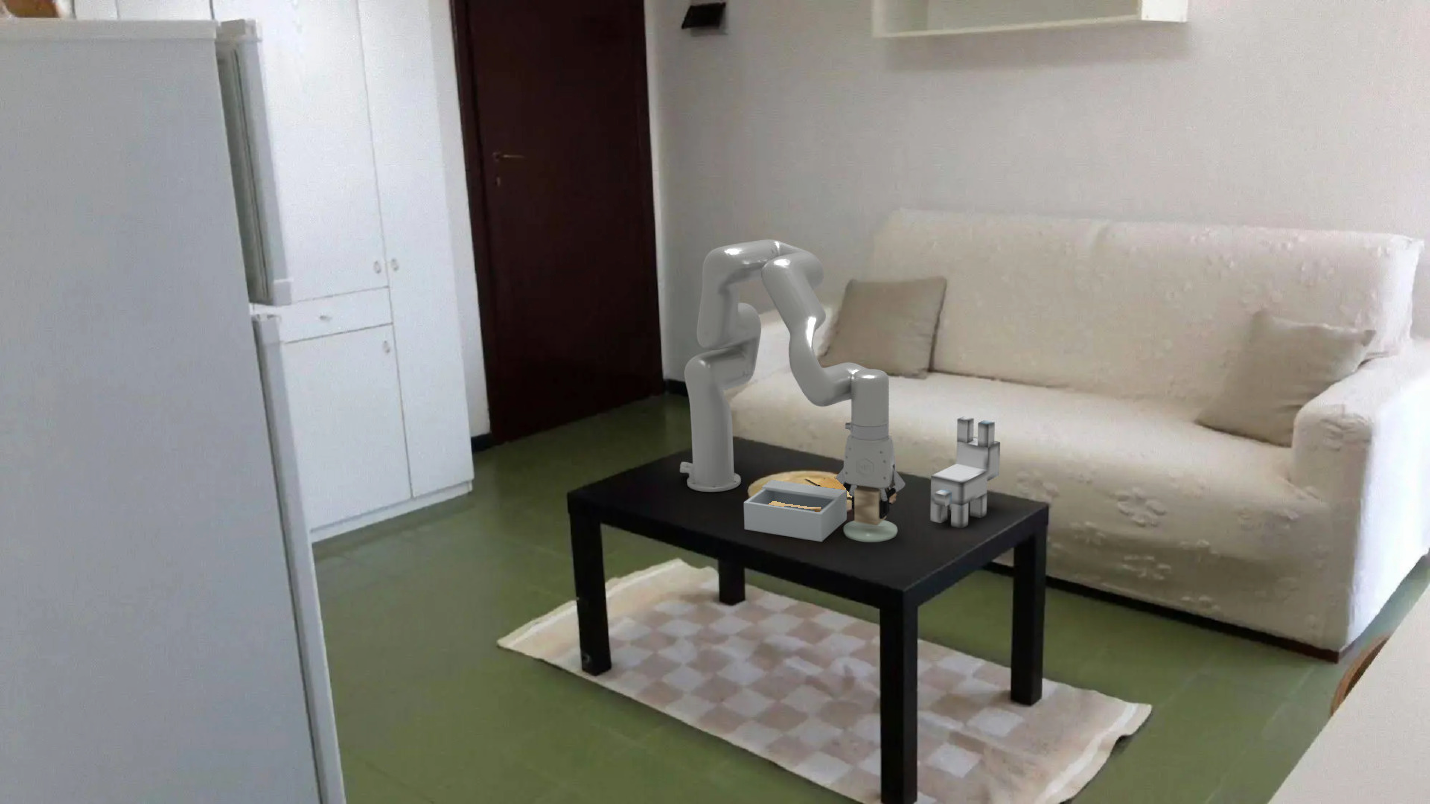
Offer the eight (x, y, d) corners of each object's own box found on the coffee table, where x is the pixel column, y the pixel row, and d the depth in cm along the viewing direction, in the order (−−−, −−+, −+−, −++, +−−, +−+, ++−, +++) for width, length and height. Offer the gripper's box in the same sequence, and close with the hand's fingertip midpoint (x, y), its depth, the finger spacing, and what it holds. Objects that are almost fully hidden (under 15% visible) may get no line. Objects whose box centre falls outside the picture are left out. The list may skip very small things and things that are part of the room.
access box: (744, 529, 242) (743, 499, 241) (772, 507, 254) (771, 479, 252) (821, 541, 234) (821, 511, 232) (846, 519, 246) (846, 490, 244)
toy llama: (924, 523, 241) (925, 433, 236) (967, 500, 254) (969, 413, 248) (955, 532, 236) (956, 439, 231) (998, 507, 249) (1000, 419, 243)
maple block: (854, 521, 236) (854, 489, 235) (863, 513, 241) (863, 482, 239) (877, 525, 234) (877, 493, 232) (886, 517, 238) (886, 485, 236)
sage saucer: (835, 537, 236) (835, 533, 236) (855, 519, 245) (855, 515, 245) (886, 545, 231) (886, 541, 231) (904, 526, 240) (904, 523, 240)
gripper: (823, 431, 233) (825, 515, 238) (904, 440, 225) (903, 527, 230) (838, 421, 239) (839, 503, 244) (916, 429, 231) (916, 514, 236)
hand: (870, 514), depth 237 cm, fingers closed on maple block, 5 cm apart
